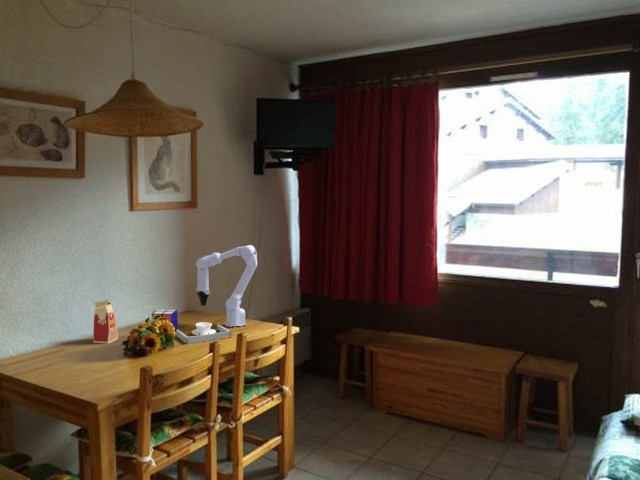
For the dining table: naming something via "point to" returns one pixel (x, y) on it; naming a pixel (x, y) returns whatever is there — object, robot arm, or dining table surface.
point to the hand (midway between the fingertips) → (203, 305)
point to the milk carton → (104, 323)
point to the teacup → (203, 328)
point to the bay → (205, 337)
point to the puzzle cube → (168, 316)
